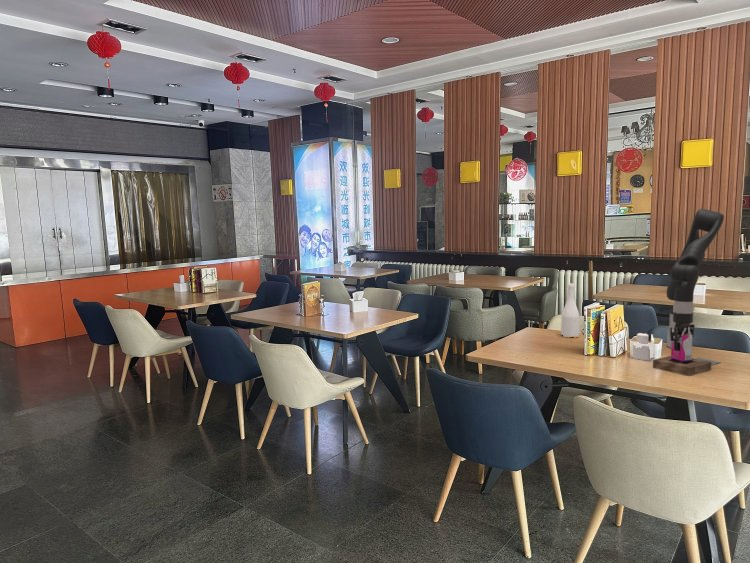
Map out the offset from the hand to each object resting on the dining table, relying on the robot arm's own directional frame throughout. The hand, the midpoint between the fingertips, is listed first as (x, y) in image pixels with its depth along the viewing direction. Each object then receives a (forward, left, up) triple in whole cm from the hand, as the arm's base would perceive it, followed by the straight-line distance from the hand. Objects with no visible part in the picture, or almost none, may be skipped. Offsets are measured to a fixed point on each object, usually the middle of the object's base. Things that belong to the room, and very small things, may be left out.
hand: (681, 349), depth 231 cm
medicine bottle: (-20, +3, -9) cm, 22 cm away
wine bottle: (-72, +14, -9) cm, 74 cm away
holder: (0, 0, -9) cm, 9 cm away
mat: (-1, +18, -9) cm, 20 cm away
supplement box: (0, 0, -5) cm, 5 cm away
